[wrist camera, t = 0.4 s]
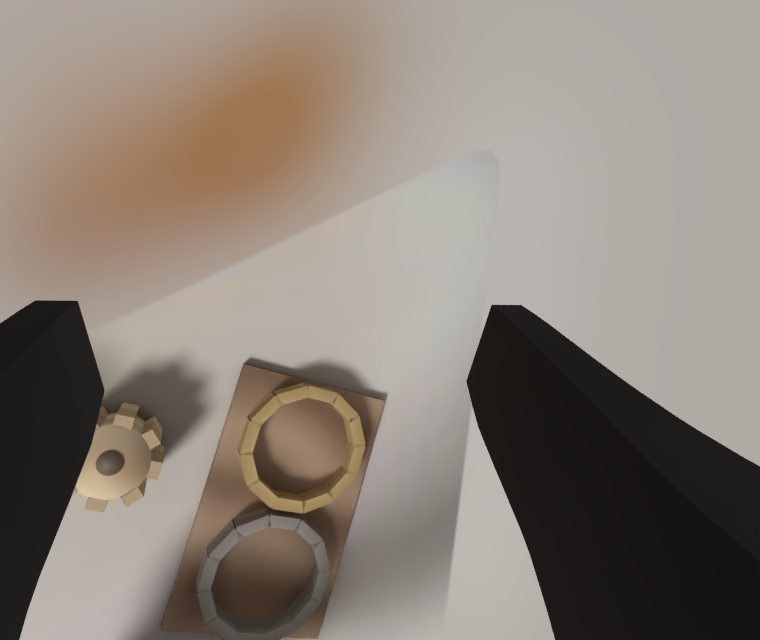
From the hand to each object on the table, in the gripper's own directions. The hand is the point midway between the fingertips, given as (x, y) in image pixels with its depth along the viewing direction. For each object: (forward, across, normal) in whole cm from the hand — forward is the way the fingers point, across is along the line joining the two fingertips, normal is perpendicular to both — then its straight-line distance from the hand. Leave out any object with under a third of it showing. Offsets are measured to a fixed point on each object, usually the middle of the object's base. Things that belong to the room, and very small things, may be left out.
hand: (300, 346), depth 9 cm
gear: (+15, +10, +21) cm, 28 cm away
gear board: (+13, 0, +27) cm, 30 cm away
